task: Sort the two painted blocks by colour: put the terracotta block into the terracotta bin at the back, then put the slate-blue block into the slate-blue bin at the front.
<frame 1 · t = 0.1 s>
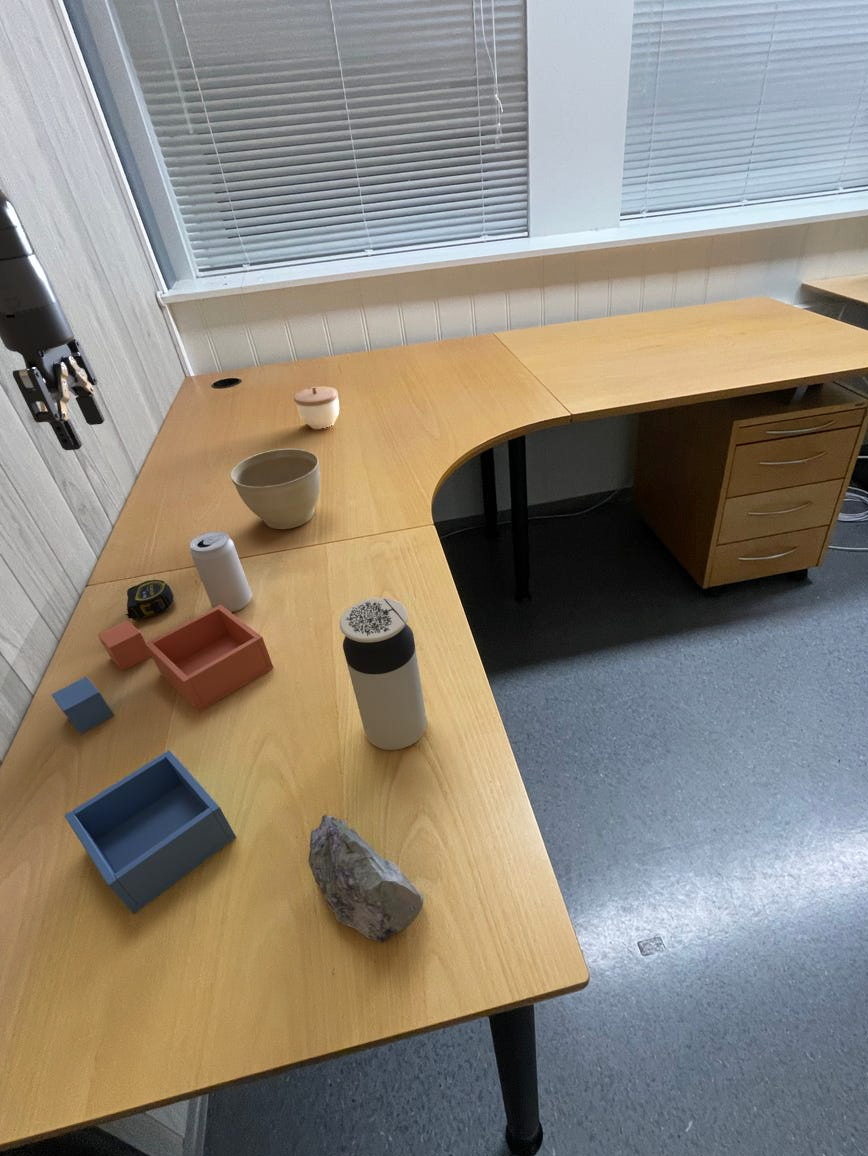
hand: (85, 435, 83), 29 cm above the table, tool pointing down, fingers open, 8 cm apart
terracotta block: (131, 656, 93), on the table
travel mug: (396, 728, 80), on the table
planter bowl: (289, 518, 123), on the table
trinket box: (322, 425, 159), on the table
blue block: (90, 716, 84), on the table
terracotta bin: (217, 670, 90), on the table
blue bin: (162, 841, 69), on the table
mineral rock: (367, 886, 64), on the table
tape measure: (151, 611, 102), on the table
beverage can: (233, 604, 102), on the table
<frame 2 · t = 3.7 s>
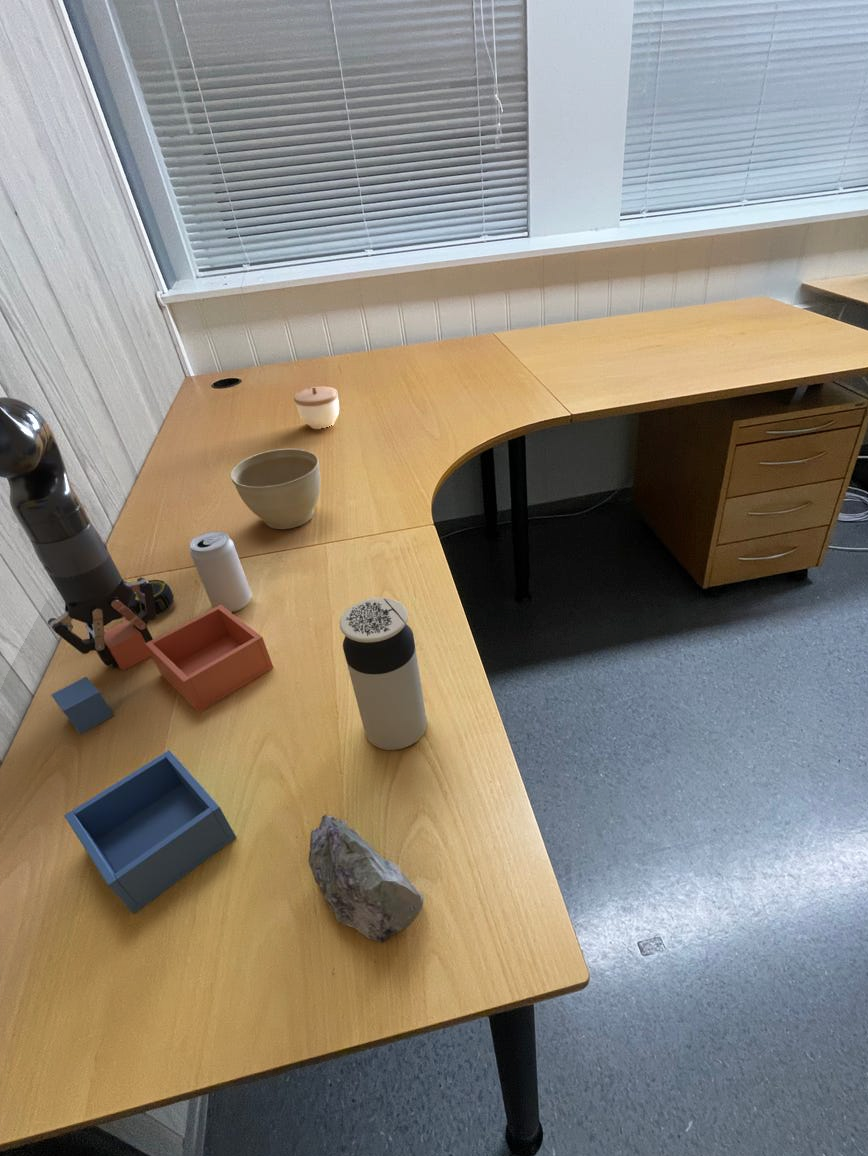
hand: (130, 655, 93), 0 cm above the table, tool pointing down, fingers closed on terracotta block, 4 cm apart
terracotta block: (131, 656, 93), on the table, touching gripper
everything else where it was.
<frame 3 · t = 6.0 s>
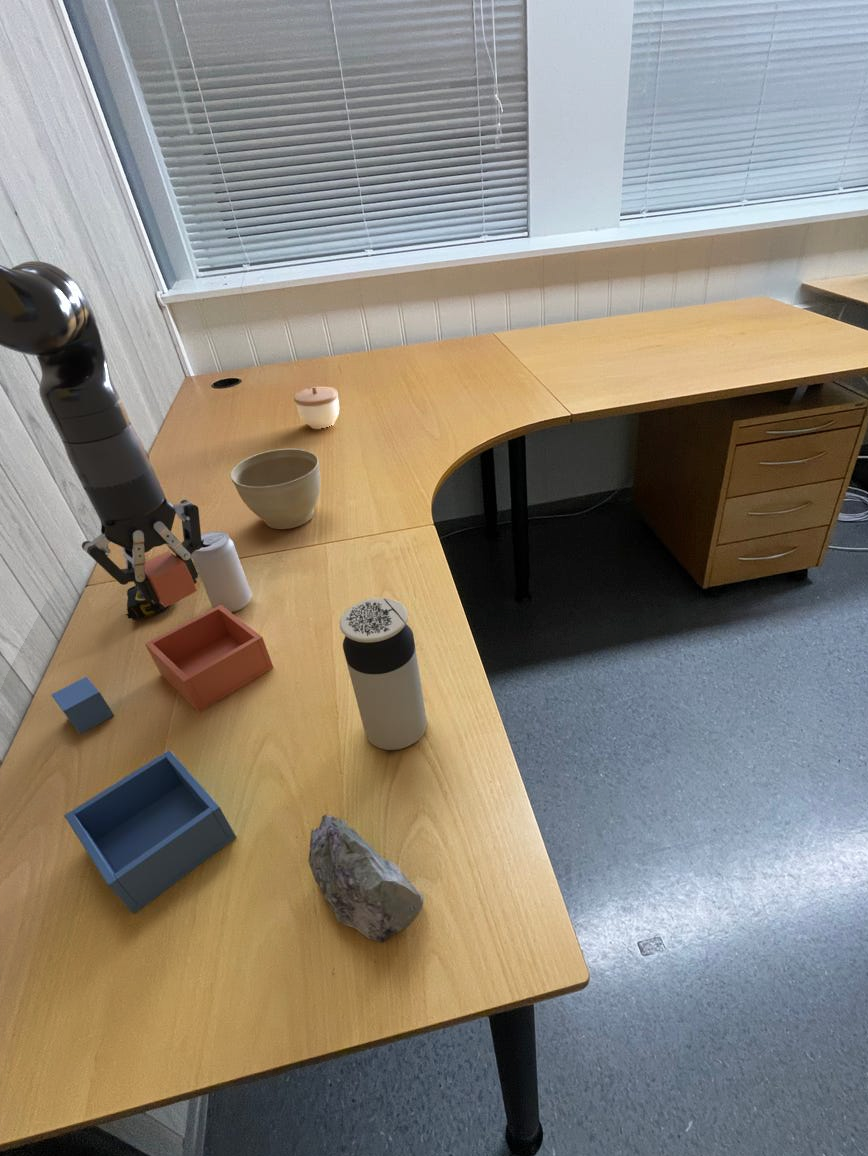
hand: (172, 590, 81), 14 cm above the table, tool pointing down, fingers closed on terracotta block, 4 cm apart
terracotta block: (173, 592, 81), point 13 cm above the table, touching gripper
everything else where it was.
when the fingers open (4 cm above the table, at t = 8.7 s): terracotta block drops 3 cm, resting on terracotta bin.
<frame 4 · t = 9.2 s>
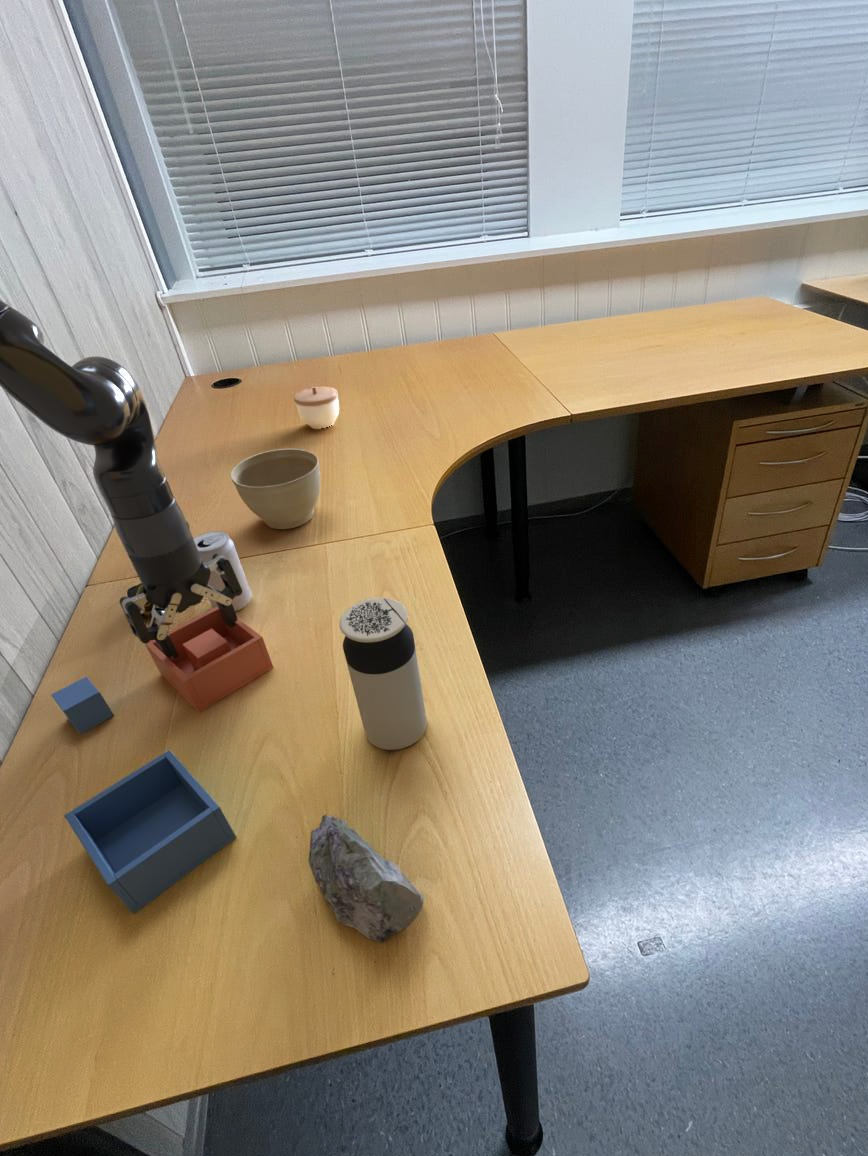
hand: (202, 639, 86), 6 cm above the table, tool pointing down, fingers open, 8 cm apart
terracotta block: (215, 666, 89), point 1 cm above the table, touching terracotta bin
everything else where it was.
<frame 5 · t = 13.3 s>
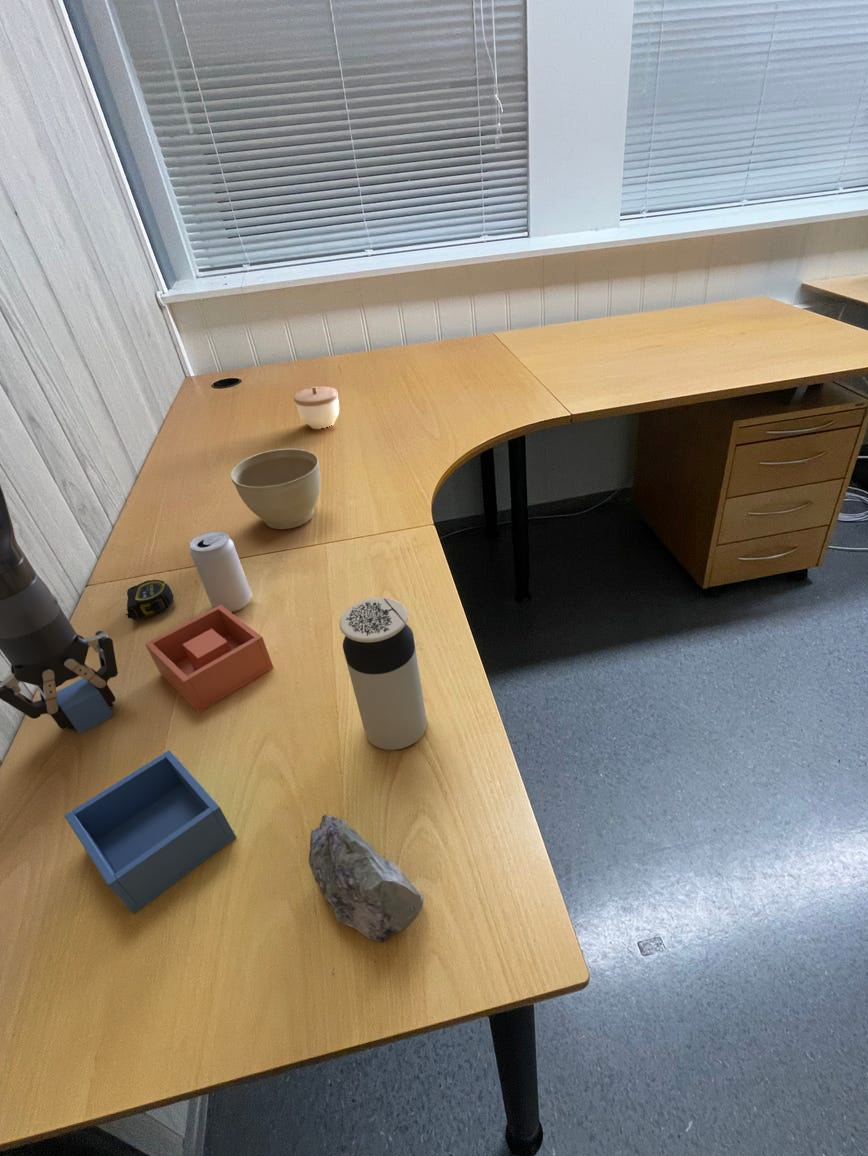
hand: (89, 715, 84), 0 cm above the table, tool pointing down, fingers closed on blue block, 4 cm apart
blue block: (90, 716, 84), on the table, touching gripper
everything else where it was.
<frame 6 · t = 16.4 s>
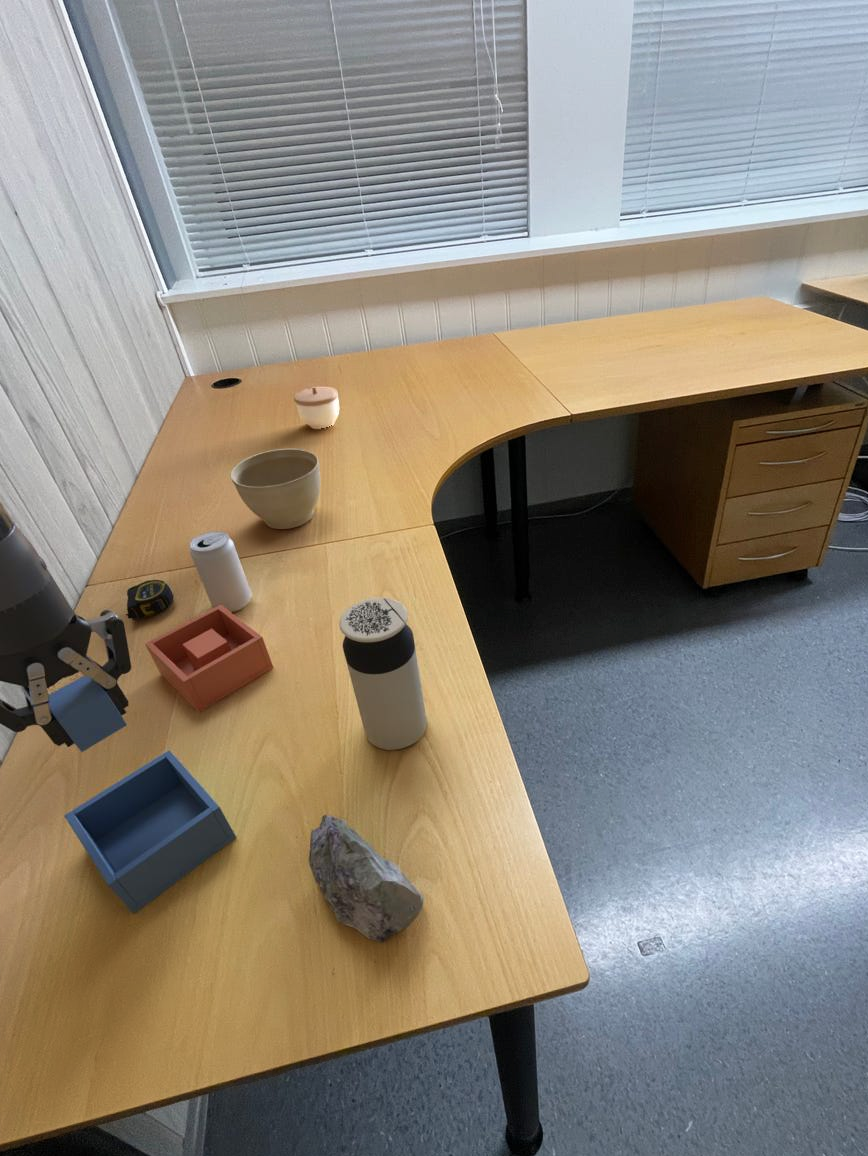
hand: (94, 725, 62), 15 cm above the table, tool pointing down, fingers closed on blue block, 4 cm apart
blue block: (96, 727, 62), point 15 cm above the table, touching gripper
everything else where it was.
when the fingers open (4 cm above the table, at t = 19.5 s): blue block drops 3 cm, resting on blue bin.
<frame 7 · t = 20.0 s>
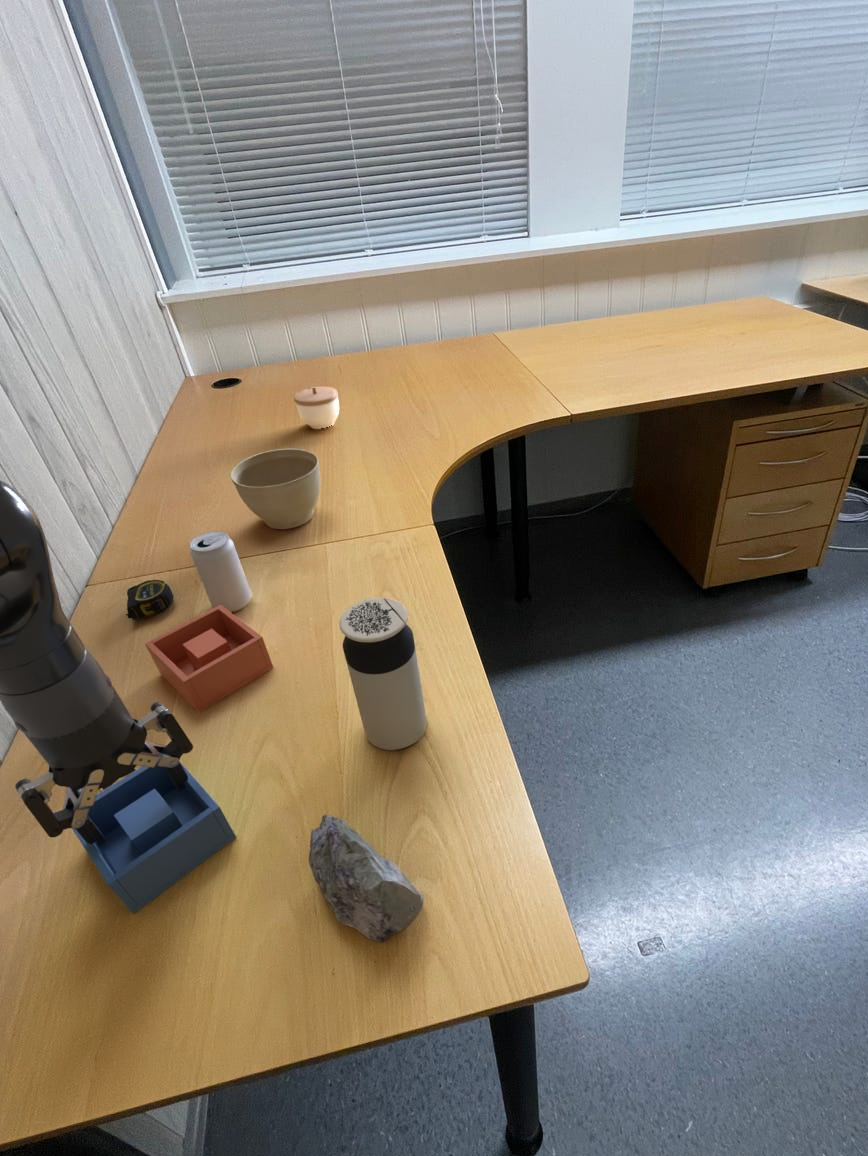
hand: (140, 810, 65), 6 cm above the table, tool pointing down, fingers open, 8 cm apart
blue block: (160, 837, 68), point 1 cm above the table, touching blue bin
everything else where it was.
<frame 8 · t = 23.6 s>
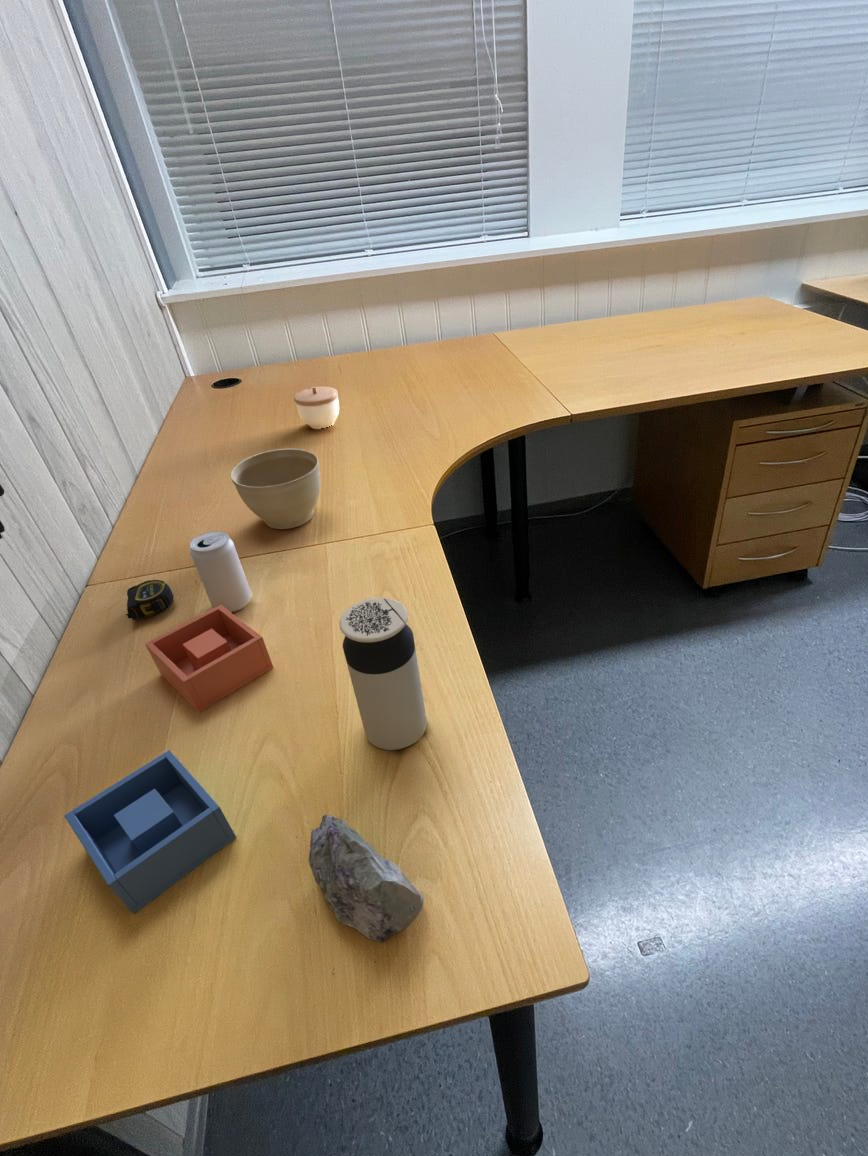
nothing on the table moved.
at the end: terracotta block inside the target area in the terracotta bin (0.0 cm from its centre), point 0.8 cm above the terracotta bin's base; blue block inside the target area in the blue bin (0.0 cm from its centre), point 0.8 cm above the blue bin's base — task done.
